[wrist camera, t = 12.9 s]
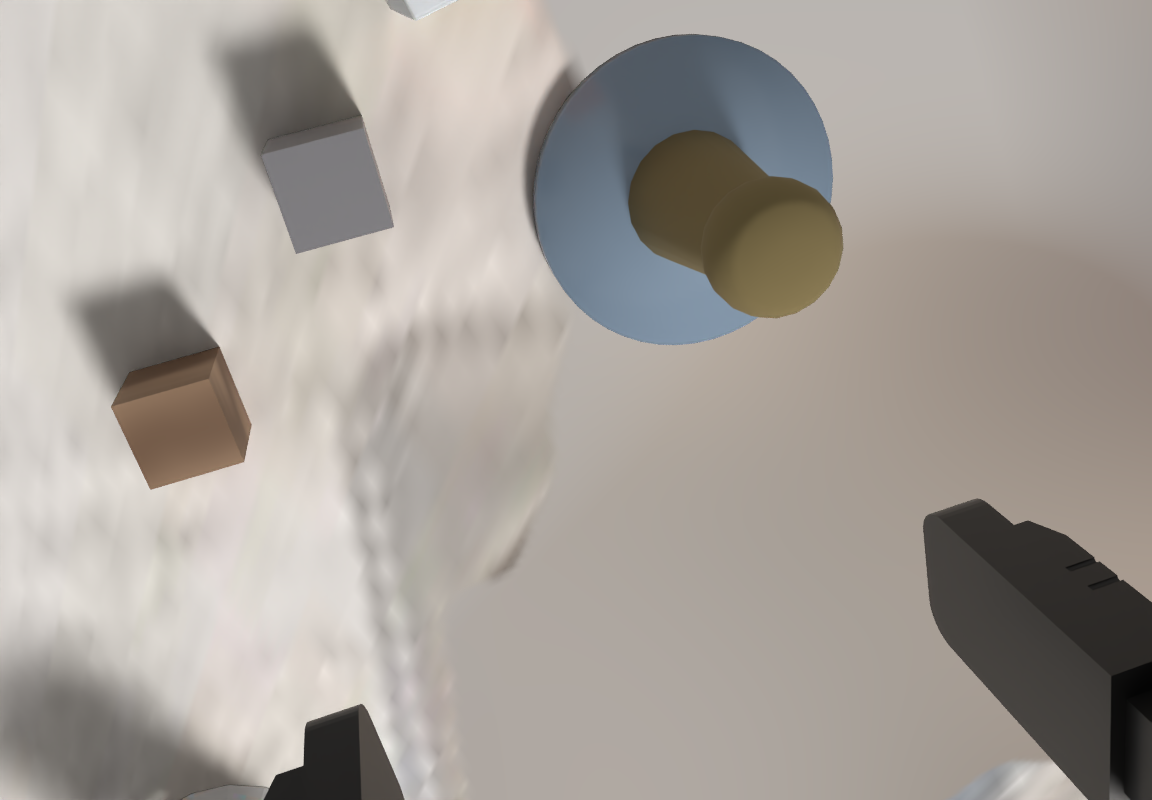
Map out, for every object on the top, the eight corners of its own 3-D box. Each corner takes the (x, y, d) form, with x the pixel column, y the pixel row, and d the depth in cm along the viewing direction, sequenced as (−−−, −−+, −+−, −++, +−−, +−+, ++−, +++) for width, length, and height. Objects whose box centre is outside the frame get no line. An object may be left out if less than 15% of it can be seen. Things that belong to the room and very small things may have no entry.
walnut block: (129, 371, 44) (110, 406, 40) (219, 346, 44) (208, 378, 41) (165, 449, 46) (150, 489, 42) (251, 424, 46) (243, 461, 43)
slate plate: (499, 79, 42) (502, 81, 42) (804, -1, 44) (814, 0, 43) (571, 372, 48) (575, 379, 48) (838, 293, 50) (847, 299, 49)
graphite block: (267, 139, 42) (261, 154, 38) (361, 115, 42) (363, 127, 38) (299, 230, 43) (296, 253, 40) (389, 206, 44) (393, 226, 40)
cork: (769, 233, 47) (884, 302, 37) (651, 282, 46) (735, 365, 37) (735, 108, 44) (850, 147, 34) (610, 160, 44) (688, 214, 34)
